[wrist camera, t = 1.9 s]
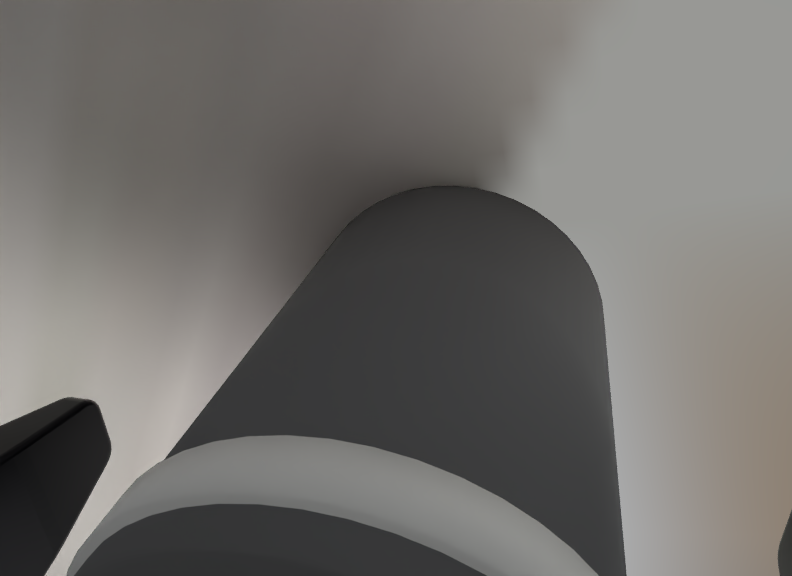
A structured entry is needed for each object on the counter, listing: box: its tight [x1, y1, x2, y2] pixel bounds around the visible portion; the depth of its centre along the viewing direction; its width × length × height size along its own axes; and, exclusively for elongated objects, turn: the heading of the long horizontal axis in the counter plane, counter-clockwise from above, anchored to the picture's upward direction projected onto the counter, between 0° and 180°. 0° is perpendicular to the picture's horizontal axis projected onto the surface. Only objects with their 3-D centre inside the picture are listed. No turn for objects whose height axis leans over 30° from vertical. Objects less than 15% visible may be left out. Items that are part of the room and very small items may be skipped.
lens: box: [67, 186, 626, 576], centre depth 8 cm, size 5×5×7 cm
